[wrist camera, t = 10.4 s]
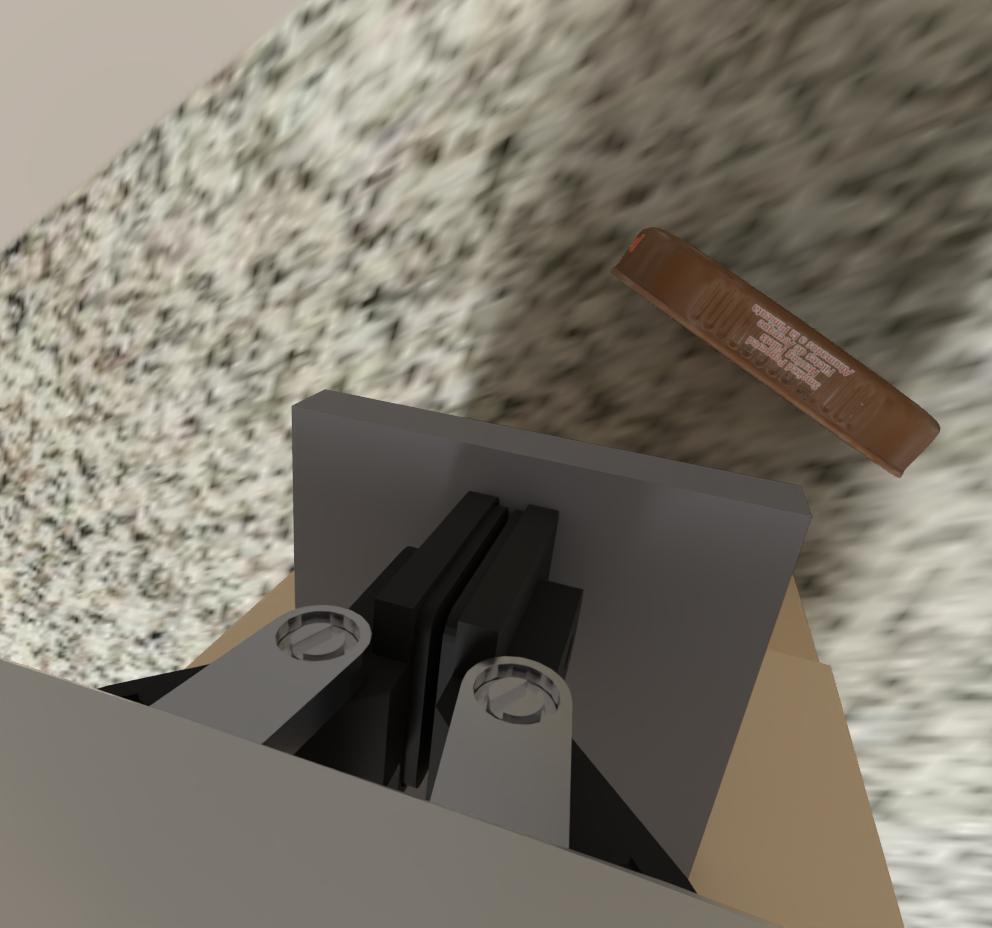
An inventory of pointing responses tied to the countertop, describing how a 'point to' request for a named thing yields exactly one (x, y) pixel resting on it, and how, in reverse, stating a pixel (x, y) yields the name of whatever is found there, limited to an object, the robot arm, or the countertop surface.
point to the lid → (627, 637)
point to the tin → (778, 349)
